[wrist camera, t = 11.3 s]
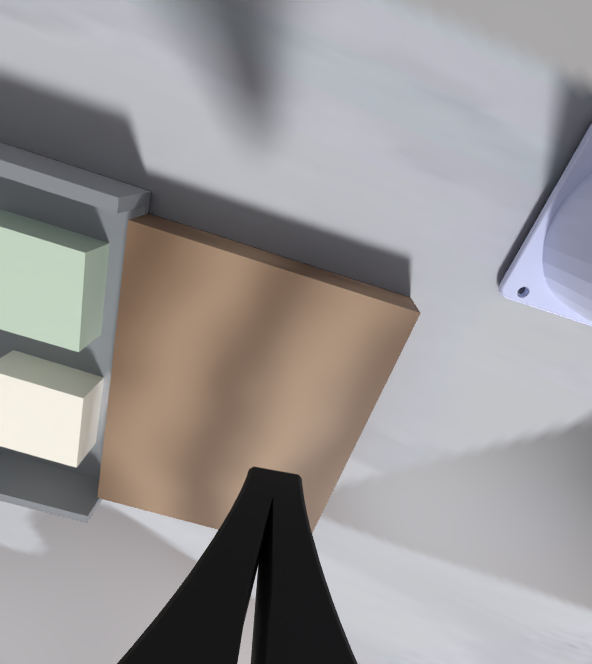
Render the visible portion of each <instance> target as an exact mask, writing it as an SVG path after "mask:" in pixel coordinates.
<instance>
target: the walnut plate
mask: <svg viewBox="0 0 592 664" xmlns="http://www.w3.org/2000/svg"><path fill="white" fill-rule="evenodd" d="M419 315H420V312H419V310H418V308H417V307H416V305H415V304H414V302H413V301H412V299H411V298H410V297H407V296H404V295H401V294H398V293H394V292H391V291H388V290H385V289H382V288H379V287H376V286H373V285H370V284H366V283H363V282H360V281H357V280H354V279H351V278H348V277H345V276H342V275H338V274H335V273H332V272H329V271H326V270H323V269H320V268H317V267H313V266H310V265H307V264H304V263H301V262H298V261H295V260H292V259H289V258H285V257H282V256H279V255H276V254H273V253H270V252H267V251H264V250H261V249H257V248H254V247H251V246H248V245H245V244H242V243H239V242H236V241H233V240H229V239H226V238H223V237H220V236H217V235H214V234H211V233H208V232H204V231H201V230H198V229H195V228H192V227H189V226H186V225H183V224H180V223H176V222H173V221H170V220H167V219H164V218H161V217H158V216H155V215H152V214H145V215H142V216H139V217H136V218H133V219H129V220H128V225H127V234H126V244H125V253H124V262H123V271H122V280H121V289H120V298H119V307H118V316H117V325H116V334H115V343H114V352H113V361H112V370H111V379H110V388H109V397H108V406H107V415H106V424H105V433H104V442H103V452H102V461H101V470H100V479H99V488H98V497H97V498H101V499H105V500H108V501H112V502H116V503H120V504H124V505H127V506H131V507H135V508H139V509H143V510H146V511H150V512H154V513H158V514H161V515H165V516H169V517H173V518H177V519H180V520H184V521H188V522H192V523H196V524H199V525H203V526H207V527H211V528H215V529H218V530H219V528H220V527H221V525H222V523H223V522H224V520H225V518H226V517H227V515H228V513H229V512H230V510H231V508H232V506H233V504H234V502H235V500H236V499H237V497H238V495H239V493H240V491H241V488H242V486H243V484H244V482H245V479H246V477H247V474H248V471H249V469H250V468H252V467H260V468H265V469H271V470H276V471H282V472H287V473H293V474H298V475H299V476H300V477H301V478H302V486H303V494H304V500H305V505H306V510H307V515H308V519H309V524H310V528H311V532H313V530H314V528H315V526H316V524H317V522H318V520H319V518H320V516H321V514H322V512H323V510H324V508H325V506H326V504H327V502H328V500H329V498H330V496H331V494H332V492H333V490H334V488H335V486H336V484H337V482H338V480H339V478H340V475H341V473H342V471H343V469H344V467H345V465H346V463H347V461H348V459H349V457H350V455H351V453H352V451H353V449H354V447H355V445H356V443H357V441H358V439H359V437H360V435H361V433H362V431H363V429H364V427H365V425H366V423H367V421H368V419H369V417H370V415H371V412H372V410H373V408H374V406H375V404H376V402H377V400H378V398H379V396H380V394H381V392H382V390H383V388H384V386H385V384H386V382H387V380H388V378H389V376H390V374H391V372H392V370H393V368H394V366H395V364H396V362H397V360H398V358H399V356H400V354H401V351H402V349H403V347H404V345H405V343H406V341H407V339H408V337H409V335H410V333H411V331H412V329H413V327H414V325H415V323H416V321H417V319H418V317H419Z"/></svg>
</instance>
